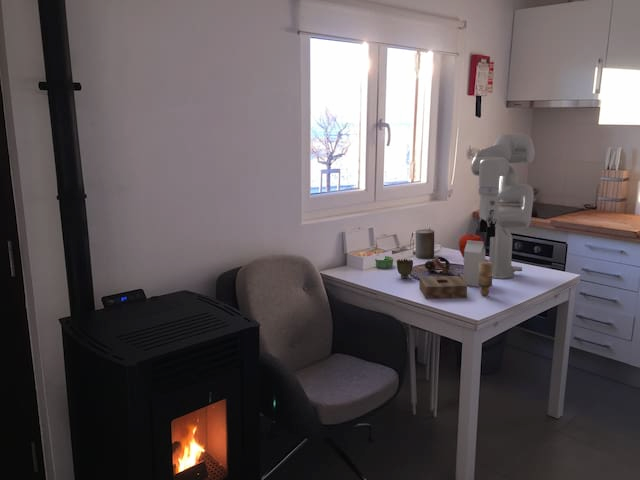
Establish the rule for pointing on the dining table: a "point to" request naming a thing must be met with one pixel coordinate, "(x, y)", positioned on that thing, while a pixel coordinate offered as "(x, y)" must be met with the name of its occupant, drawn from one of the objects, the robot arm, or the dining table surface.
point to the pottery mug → (438, 264)
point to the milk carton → (473, 262)
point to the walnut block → (443, 287)
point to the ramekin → (385, 262)
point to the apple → (464, 241)
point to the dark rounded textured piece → (404, 267)
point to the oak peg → (485, 277)
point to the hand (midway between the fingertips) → (486, 234)
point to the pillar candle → (425, 243)
